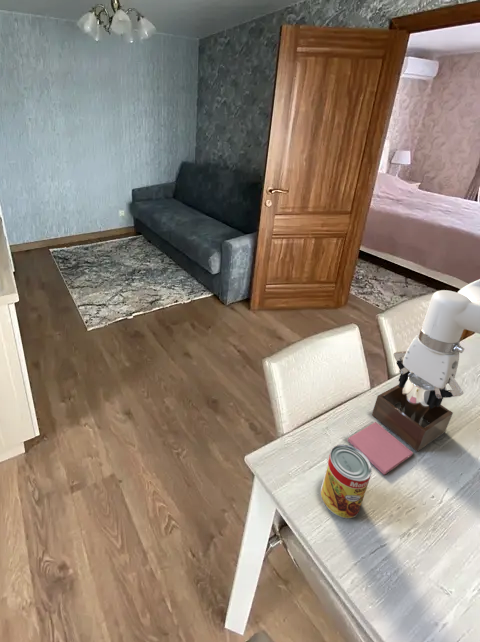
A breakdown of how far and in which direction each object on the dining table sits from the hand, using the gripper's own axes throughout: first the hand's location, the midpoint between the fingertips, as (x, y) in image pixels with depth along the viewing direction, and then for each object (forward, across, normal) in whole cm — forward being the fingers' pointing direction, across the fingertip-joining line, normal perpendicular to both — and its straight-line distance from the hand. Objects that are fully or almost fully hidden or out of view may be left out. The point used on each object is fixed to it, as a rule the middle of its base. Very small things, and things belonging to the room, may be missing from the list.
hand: (417, 394), depth 90 cm
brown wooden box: (+10, 0, 0) cm, 10 cm away
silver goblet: (+10, 0, 0) cm, 10 cm away
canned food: (+10, -5, +33) cm, 35 cm away
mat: (+10, -1, +14) cm, 17 cm away
